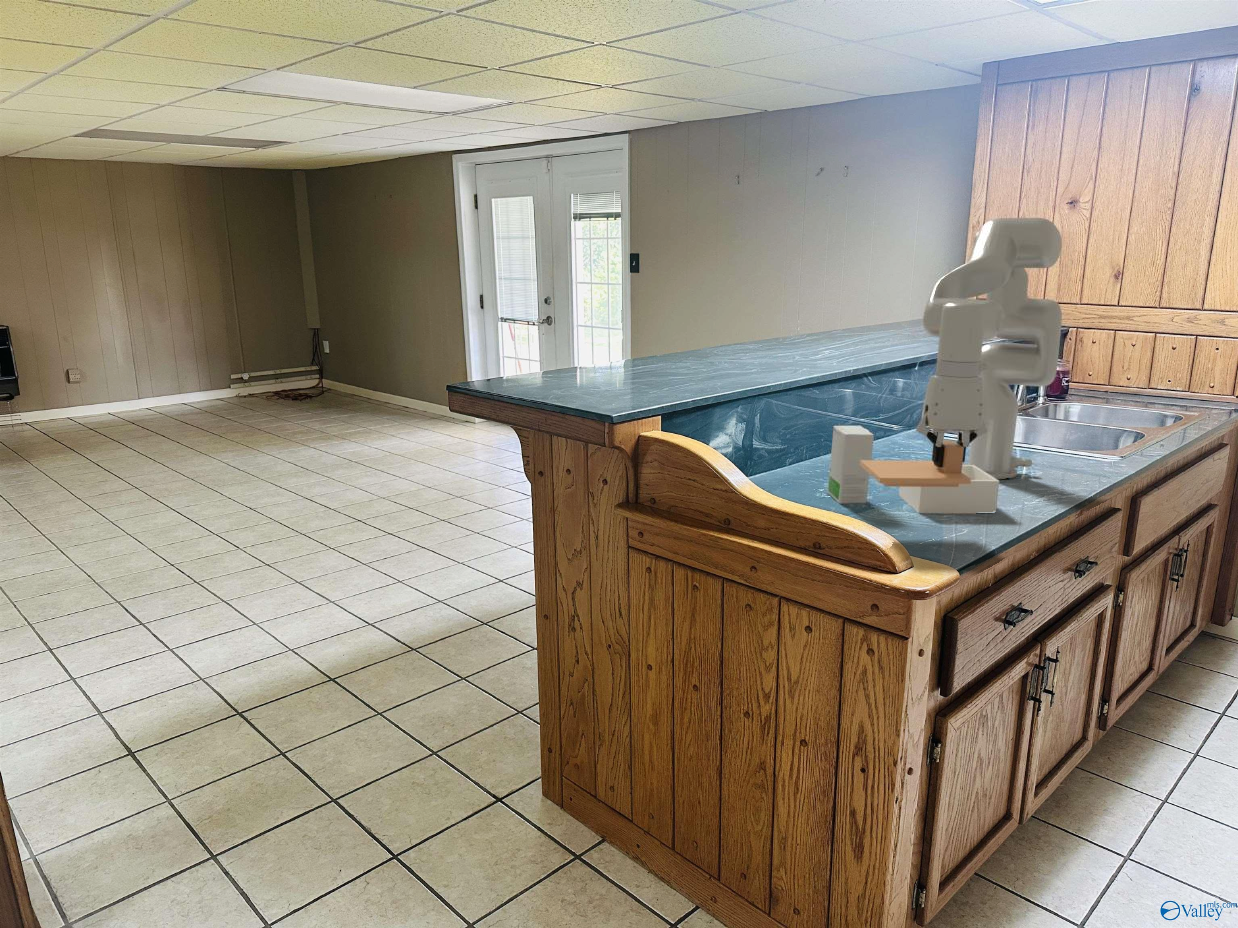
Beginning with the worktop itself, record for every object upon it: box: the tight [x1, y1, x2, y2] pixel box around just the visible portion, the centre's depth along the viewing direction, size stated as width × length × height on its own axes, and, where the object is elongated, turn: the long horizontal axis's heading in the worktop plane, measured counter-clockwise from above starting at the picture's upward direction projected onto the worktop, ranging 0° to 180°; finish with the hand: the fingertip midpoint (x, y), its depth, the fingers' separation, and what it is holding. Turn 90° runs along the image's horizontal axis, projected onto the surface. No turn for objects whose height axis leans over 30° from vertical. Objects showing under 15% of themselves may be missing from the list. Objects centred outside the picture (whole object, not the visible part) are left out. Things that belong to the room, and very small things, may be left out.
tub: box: [898, 464, 1000, 514], centre depth 183 cm, size 16×13×7 cm
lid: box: [860, 439, 971, 488], centre depth 163 cm, size 17×14×7 cm
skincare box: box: [827, 425, 875, 505], centre depth 186 cm, size 8×7×16 cm
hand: (947, 465), depth 163 cm, fingers closed on lid, 3 cm apart
